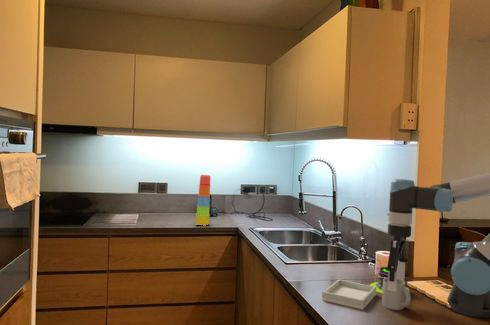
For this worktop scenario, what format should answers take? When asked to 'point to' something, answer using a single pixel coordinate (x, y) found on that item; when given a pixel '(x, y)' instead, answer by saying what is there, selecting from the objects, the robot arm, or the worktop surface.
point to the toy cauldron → (381, 279)
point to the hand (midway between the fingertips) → (396, 285)
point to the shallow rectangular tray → (349, 294)
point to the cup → (395, 296)
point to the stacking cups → (203, 201)
